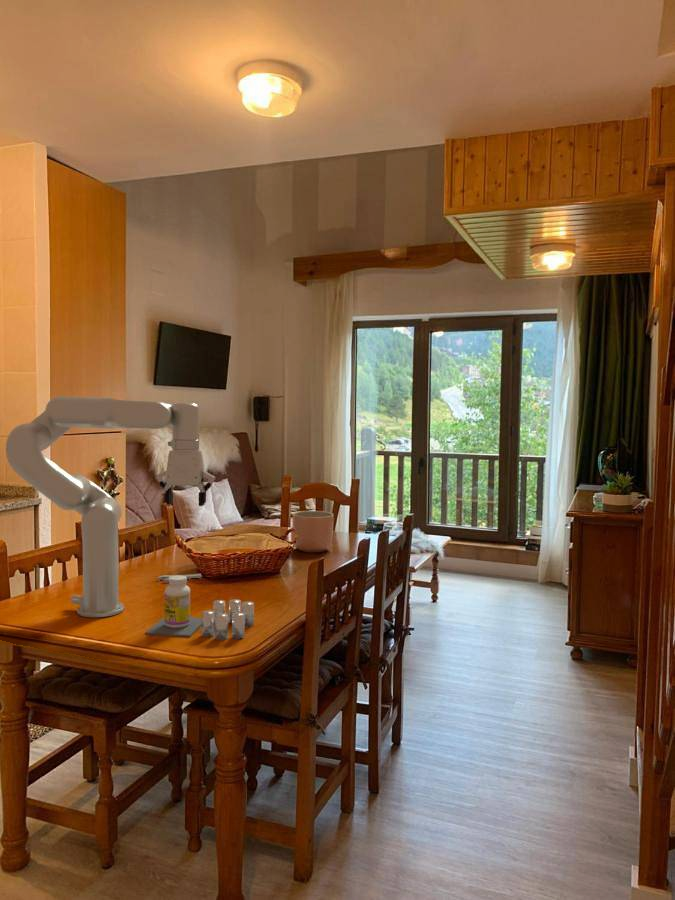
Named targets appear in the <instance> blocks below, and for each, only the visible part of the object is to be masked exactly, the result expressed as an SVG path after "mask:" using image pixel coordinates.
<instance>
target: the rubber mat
mask: <svg viewBox="0 0 675 900" xmlns="http://www.w3.org/2000/svg"><path fill="white" fill-rule="evenodd" d="M200 628H202V617H194V616H190V623H189V624H188V625H187V626H185V627H182V628H169V627H167V626H165V624H164V617H162V618H161V619H160V620H158V622H156V623H155V624H154V625H152V627H150V628H149V629H148V630H147V631H145V632H144V634H145V635H151V636H165V637H167V636H168V637H179V638H180V637H181V638H191V637H192V636H193V635H194V634H195V633H196V632H197V631H198V630H199V629H200Z"/></svg>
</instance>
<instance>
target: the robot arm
mask: <svg viewBox="0 0 675 900" xmlns="http://www.w3.org/2000/svg"><path fill="white" fill-rule="evenodd" d="M169 427H172V439H171V440H170V441H168V442H167V446H168V447H171V449H172V450H169V452H168V456H167V463H166V470H165V471H163V472H161V473H159V474H157V475H156V476H155V477H156V480H157V482H158V483H159V485H160V487H161V488H162V489H163V491H164V495H165V497H164V500H165V502H166V506H169V505H172V504H173V503H174V490H173V487H174V486H179V487H180V486H182V487H183V486H184V487H188V486H189V487H197V488H198V490H199V492H198V507H203V506H204V505H205V504H206V502H207V492H208V490H209V489H210V488H211V487H213V483H214V482H215V480H216V476H214V475H212V474H210V473H209V472H207V471H206V470H205V467H204V465H205V464H204V459H203V454H202V450H200V407H199V405H198V404H196V403H192V402H177V403H172V402H171V403H170V402H164V401H163V402H162V401H150V400H148V401H147V400H146V401H145V400H126V399H125V400H124V399H122V400H121V399H117V398H116V399H115V398H111V397H92V396H89V397H88V396H66V395H64V396H60V395H59V396H55V397H53V398H51V399H50V400H49V401H48V402H47V403H46V406H45V410H44V411H43V412H42V413H41V414H39V415H38V416H37V417H35V418H34V419H33V420H31V422H27V423H22V424H19V425H17V426H15V427H14V428H13V429H12V430H11V431H10V432H9V433H8V436H7V438H6V442H5V455H6V459H7V462H8V463H9V465H10V467H11V468H12V469H13V471H14V472H15V473H16V474H17V475H18V476H19V477H20V478H22V479H23V480H24V481H26V482H27V483H28V484H29V485H31V486H32V487H33V488H34V489H35V490H36V491H38V492H39V493H41V494H42V495H43V496H44V497H46V498H47V499H48V500H50V501H51V502H53V504H55V505H56V506H57V507H58V508H60V509H62V510H64V511H75V512H77V513H78V514H80V515H81V520H80V521H81V522H80V526H81V527H80V528H81V540H82V595H80V594H72V595H71V597H70V604H78V605H79V607H77V609H76V613H77V614H78V615H79V616H81V617H84V618H107V617H111V616H116V615H118V614H121V613H122V612H124V610H125V605H124V603H122V602H121V601H119V599H120V598H119V596H120V595H119V591H120V590H119V586H120V585H119V584H120V583H119V530H118V529H119V522H120V520H121V517H122V508H121V505H120V504H119V502H118V501H117V499H115V498H113V496H111V494H108V493H107V492H106V491H104V489H102V488H101V487H100V486H98V485H97V484H96V483H94V482H93V480H90V479H89V478H87V477H85V476H84V475H82V474H79V473H77V474H76V473H71V474H70V473H69V472H67V471H66V470H64V469H63V468H61V467H60V465H58V464H57V463H56V462H54V461H53V460H52V459H49V458H48V457H47V456H46V455H44V453H43V452H42V451H45V450H46V449H47V448H49V447H51V445H53V444H54V443H55V442H56V441H58V440H59V439H60V438H61V437H62V436H64V435H65V434H66V433H67V432H68V431H70V430H71V429H72V428H87V429H88V428H90V429H93V428H94V429H117V428H119V429H120V428H122V429H124V428H125V429H146V430H147V429H150V430H153V429H154V430H159V429H164V428H169ZM164 477H165V480H164ZM205 479H208V480H207V483H206V484H205V483H204V482H205Z"/></svg>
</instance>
